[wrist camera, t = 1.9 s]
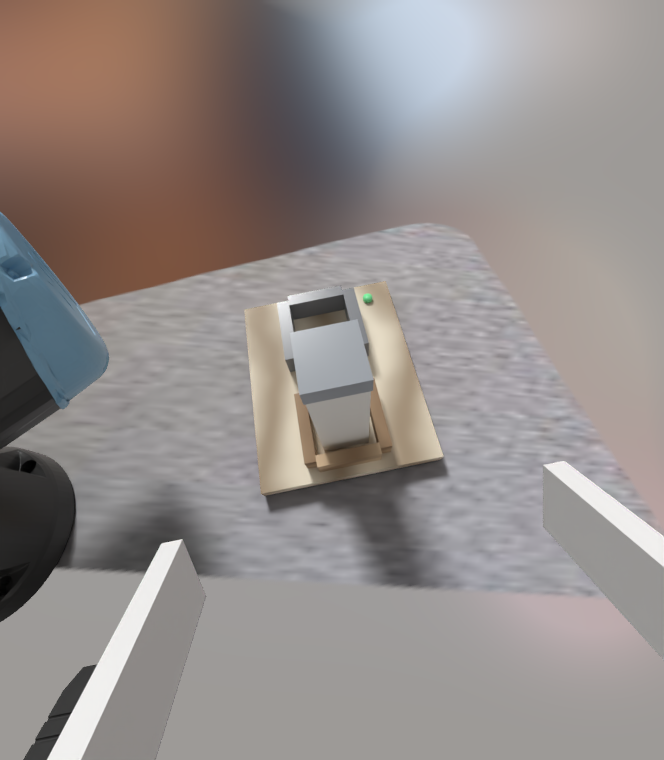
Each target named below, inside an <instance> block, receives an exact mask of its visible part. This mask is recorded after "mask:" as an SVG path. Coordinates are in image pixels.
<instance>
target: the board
mask: <svg viewBox="0 0 664 760" xmlns="http://www.w3.org/2000/svg"><path fill="white" fill-rule="evenodd" d="M354 290H355V294H356V298H357V301H358V305H359V309H360V312H361V316H362V320H363V323H364V327H365V331H366V334H367V338H368V341H369V356H367V357H368V361H369V364H370V368H371V372H372V376H373V378H374V379H375V383H376V386H377V390H378V394H379V398H380V401H381V405H382V409H383V412H384V416H385V420H386V424H387V427H388V431H389V435H390V439H391V442H392V449H391V452H387V453H382V457H381V460H377V461H372V462H367V463H362V464H357V465H353V466H348V467H343V468H338V469H333V470H328V471H323V472H320V471H319V469H318V468H317V467H314V468H309V469H308V468H307V467H306V465H305V464H304V458H303V451H302V445H301V438H300V431H299V424H298V418H297V411H296V404H295V398H294V394H297V393H299V389H298V383H297V376H296V371H293V372H290V371H289V368H288V366H287V363H286V361H285V356H284V349H283V342H282V335H281V328H280V321H279V315H278V308H277V303H275V304H270V305H265V306H260V307H255V308H250V309H245V310H244V311H245V322H246V333H247V344H248V355H249V366H250V377H251V389H252V400H253V411H254V422H255V433H256V444H257V455H258V467H259V478H260V489H261V494H262V495H264V496H266V495H271V494H276V493H281V492H286V491H290V490H295V489H300V488H305V487H310V486H315V485H320V484H325V483H329V482H334V481H339V480H344V479H349V478H354V477H359V476H363V475H368V474H373V473H378V472H383V471H388V470H393V469H398V468H402V467H407V466H412V465H417V464H422V463H427V462H432V461H437V460H441V459H442V458H443V457H444V456H443V453H442V450H441V447H440V444H439V441H438V438H437V435H436V432H435V429H434V426H433V423H432V420H431V417H430V414H429V411H428V408H427V405H426V402H425V399H424V396H423V393H422V390H421V387H420V384H419V381H418V378H417V375H416V372H415V369H414V366H413V363H412V360H411V357H410V354H409V350H408V347H407V344H406V341H405V338H404V335H403V332H402V329H401V326H400V323H399V320H398V317H397V314H396V311H395V308H394V305H393V302H392V299H391V296H390V293H389V290H388V287H387V284H386V281H384V282H379V283H374V284H369V285H364V286H359V287H354ZM365 294H371V295H372V302H370V303H365V302H364V301H363V296H364V295H365ZM346 321H347V317H346V313H345V310H340V311H335V312H330V313H325V314H320V315H315V316H310V317H305V318H300V319H295V320H294V325H295V331H301V330H306V329H311V328H316V327H321V326H326V325H331V324H336V323H341V322H346ZM311 421H312V419H311ZM312 427H313V433H314V439H315V445H316V451H317V455H320V454H325V453H330V452H334V451H339V450H344V449H349V448H354V447H359V446H364V445H369V444H373V443H377V442H376V438H375V434H374V430H373V426H372V422H371V418H370V422H369V443H364V444H359V445H354V446H349V447H344V448H340V449H335V450H330V451H324V449H323V446H322V444H321V441H320V439H319V437H318V434H317V432H316V429H315V427H314V424H313V422H312Z"/></svg>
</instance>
